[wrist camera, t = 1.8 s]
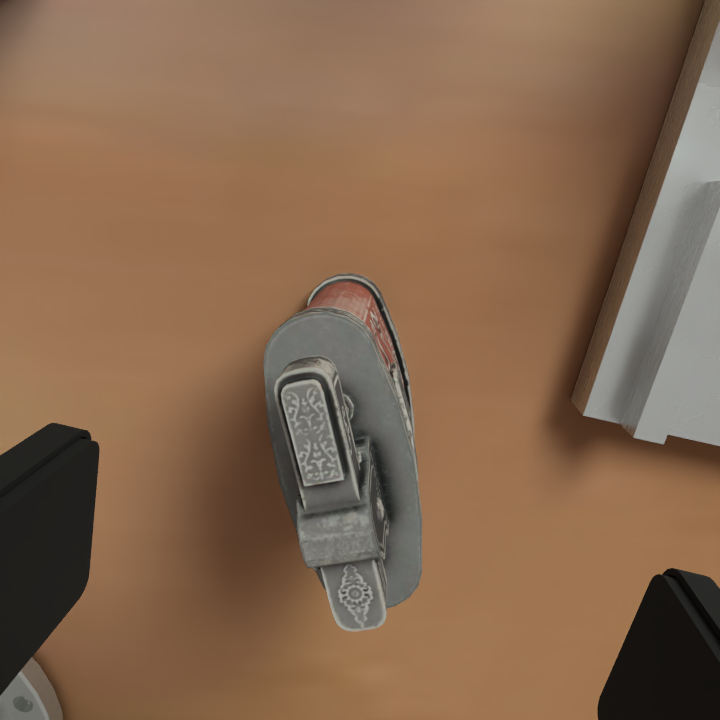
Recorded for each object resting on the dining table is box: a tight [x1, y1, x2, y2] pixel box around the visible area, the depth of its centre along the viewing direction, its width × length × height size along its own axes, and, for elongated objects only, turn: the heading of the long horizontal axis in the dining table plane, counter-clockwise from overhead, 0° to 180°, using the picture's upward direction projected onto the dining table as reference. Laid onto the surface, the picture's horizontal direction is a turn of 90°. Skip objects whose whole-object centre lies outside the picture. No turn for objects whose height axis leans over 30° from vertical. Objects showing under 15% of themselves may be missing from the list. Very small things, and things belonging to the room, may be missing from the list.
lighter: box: [263, 273, 422, 631], centre depth 16 cm, size 8×3×10 cm, turn 12°
